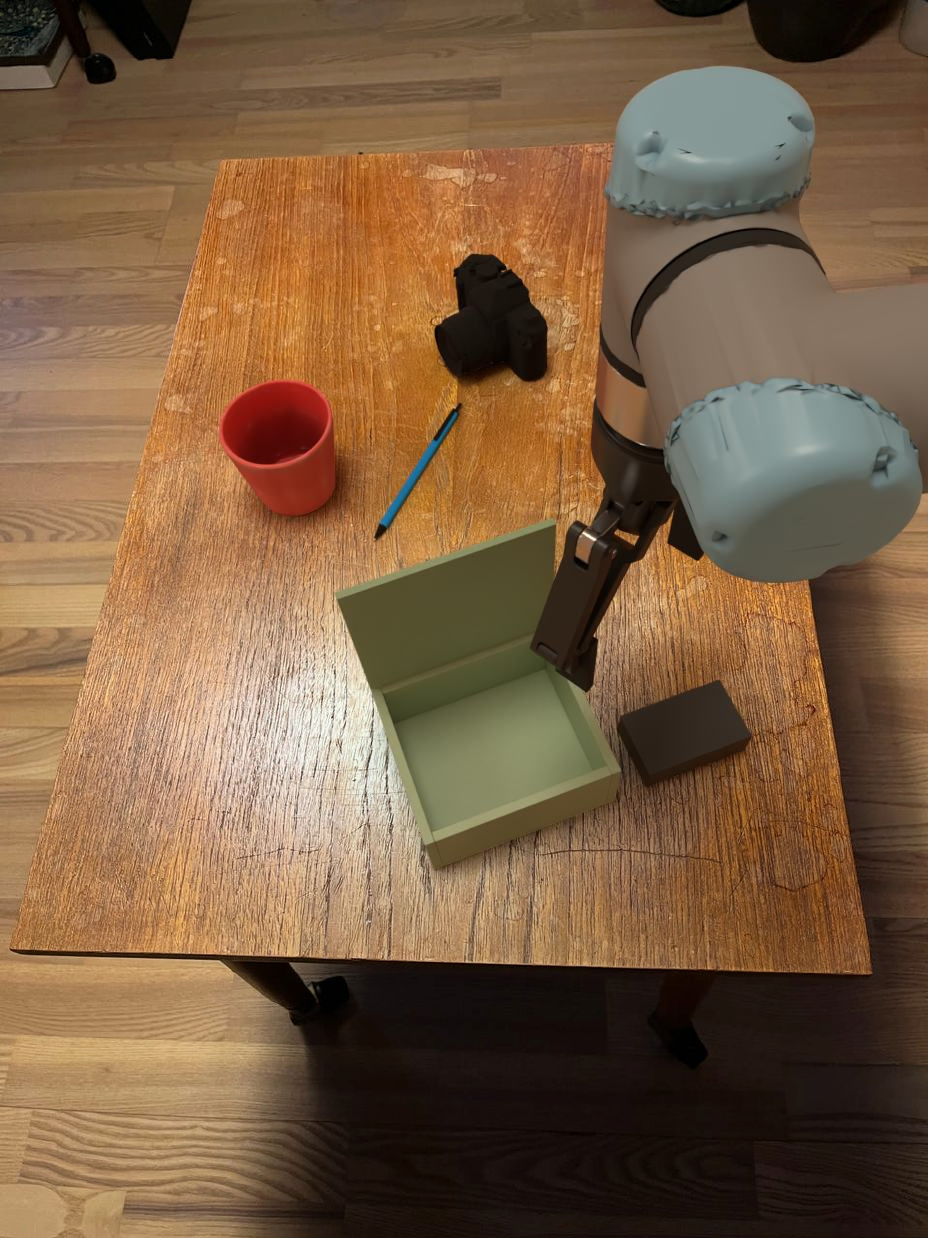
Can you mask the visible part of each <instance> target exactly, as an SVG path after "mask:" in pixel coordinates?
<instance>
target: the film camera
mask: <svg viewBox="0 0 928 1238" xmlns="http://www.w3.org/2000/svg"><path fill="white" fill-rule="evenodd" d="M452 272H453V275H452V278H455V290H456V298H457V309H458V312H456V313H454V314H452V315H449V316H448V317H446V318H444V319H442V321H441V323H439V324H437V325H435V327H434V329H433V331H434V332H433V333H434V334H433V335H434V336H433V337H434V340H435V343H436V344H435V345H436V347H437V351H438V353H439V355H440V357H441V360H442V361H443V362H444V365H445V367H447V369H448V370H449V372H451V374H452V375H453V376H455V377H460V376H463V375H464V374H465V375H468V374H472V373H474V372H476V371H478V370H480V369H481V368H485V367H487V366H489V365H492V364H493V365H496V366H497V365H499V364H502V363H506V364H507V366H509V367H510V368H511V370H512V371H513V372H514V373H515V375H517V376H518V378H519V379H520V380H522V381H525V382H529V381H530V382H535V381H536V380H538V379H540V378H542V377H543V376H545V374H546V371H547V369H548V367H549V366H548V331H549V327H548V322H547V320H546V318H545V317H544V316H543V315H542V313H541V311H540V309H538V308H537V307H536V306H534V304H533V303H532V301H531V298H530V290H529V288H528V287H527V286H526V284H525V283H524V281H523V279H522V278H521V277H520V276H518V275H517V273H515V272H514V270H513V269H512V268H509V269H508V267H507V265H506V264H505V263H504V262H503V261H502V260H501V259H500V258H499V257H497V256H496V255H495V254H492V253H491V254H483V253H482V254H481V253H470V254H469V255H467V256H466V258H465V259H463V260H462V262H461V263H460V264H459V265H458V266H457V267H455V268H454V269H453V271H452Z"/></svg>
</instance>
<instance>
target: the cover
mask: <svg viewBox="0 0 928 1238" xmlns="http://www.w3.org/2000/svg"><path fill="white" fill-rule="evenodd" d="M556 542H557V521H556V520H555V518H554V517H551V518H548V519H545V520H543V521H539V522H537V523H533V524H531V525H528V526H525V527H522V528H518V529H516V530H513V531H510V532H507V533H504V534H501V535H498V536H496V537H492V538H489V539H486V540H484V541H481V542H478V543H475V544H472V545H469V546H466V547H463V548H460V549H458V550H454V551H452V552H449V553H446V554H443V555H440V556H437V557H434V558H431V559H429V560H425V561H423V562H419V563H416V564H413V565H410V566H408V567H405V568H401V569H399V570H396V571H393V572H390V573H388V574H387V573H386V574H385V575H382V576H378V577H377V578H372V579H370V580H367V581H363V582H361V583H359V584H355V585H353V586H349V587H347V588H344V589H341V590H337V591H335V592H334V596H335V599H336V601H337V604H338V607H339V609H340V613H341V615H342V617H343V620H344V622H345V623H344V624H345V626H346V629H347V630H348V634H349V636H350V639H351V642H352V644H353V647H354V649H355V652H356V655H357V657H358V660H359V663H360V666H361V668H362V670H363V673H364V676H365V679H366V681H367V684H368V687H369V690H371V689H374V688H377V687H380V686H383V685H386V684H388V683H391V682H394V681H397V680H400V679H402V678H405V677H408V676H411V675H414V674H416V673H419V672H422V671H425V670H428V669H430V668H433V667H436V666H439V665H442V664H444V663H447V662H450V661H453V660H456V659H458V658H461V657H464V656H467V655H470V654H472V653H475V652H478V651H481V650H484V649H486V648H489V647H492V646H495V645H498V644H500V643H503V642H506V641H509V640H512V639H514V638H517V637H520V636H523V635H526V634H528V633H531V632H534V631H536V628H537V625H538V623H539V620H540V617H541V615H542V612H543V609H544V606H545V604H546V601H547V598H548V595H549V593H550V590H551V587H552V584H553V582H554V579H555V567H556V566H555V564H556V545H557V544H556Z"/></svg>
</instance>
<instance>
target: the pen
mask: <svg viewBox="0 0 928 1238" xmlns="http://www.w3.org/2000/svg"><path fill="white" fill-rule="evenodd" d="M462 406H463V404H462V402H458V404H457V405H456V407H454V408H452V409H451V410H450V411H449V413H448V414H447V416H446V418H445V420H444V421H443V423H441V425H440V427H439V429H438V430H437V431H436V432H435V435H434V436H433V438H432V440H431V442H430V443H429V445H428V446H427V447H426V450H425V451H424V453H423V454H422V456H421V457H420V459H419V460H418V462H417V463H416V465H415V467H414V468H413V470H412V471H411V473H410V474H409V476H408V478H407V479H406V481H405V483H404V484H403V485H402V487H401V489H400V490H399V492H398V493H397V495H396V496H395V498H394V500H393V501H392V503H391V504H390V506H389V507H388V509H387V511H386V512H385V513H384V515H383V517H382V519H381V520H380V521H379V523H378V526H377V528H376V531H375V533H374V536H373V541H376V540H377V539H378V538H379V537H380V536H381V535H382V534H383V533H384V532H386V530H387V529H389V528H388V527H389V526H390V525H391V523H392V521H393V520H394V518H395V516H396V515H397V514H398V512H399V510H400V509H401V507H402V505H403V504H404V502H405V501H406V499H407V498H408V496H409V494H410V493H411V492H412V490H413V488H414V487H415V485H416V483H417V482H418V480H419V478H420V477H421V476H422V474H423V472H424V471H425V469H426V467H427V466H428V465H429V463H430V461H431V460H432V458H433V456H434V455H435V453H436V451H437V450H438V448H440V446H441V444H442V443H443V441H444V439H445V437H446V436H447V434H448V433H449V432H450V430H451V428H452V426H453V425H454V423H455V422H456V420H457V418H458V417H459V415H460V412H459V411H460V410H461V408H462Z"/></svg>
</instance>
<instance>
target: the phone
mask: <svg viewBox="0 0 928 1238" xmlns="http://www.w3.org/2000/svg"><path fill="white" fill-rule="evenodd" d="M616 731H617V734H618V735H619V737H620V740H621V742H622V743H623V745H624V748H625V750H626V752H627V754H628V755H629V758H630V760H631V762H632V763H633V766H634V768H635V770H636V772H637V775H638V776H639V778H640V780H641V782H642V784H643V787H644V788H645V789H647V788H650V787H653V786H655V785H658V784H661V783H663V782H665V781H668V780H670V779H674V778H677V777H679V776H682V775H684V774H687V773H689V772H692V771H695V770H697V769H699V768H702V767H705V766H707V765H710V764H712V763H715V762H718V761H720V760H723V759H725V758H729V757H730V756H734V755H736V754H739V753H741V752H744V751H746V749H747V748H748V745H749V744H750V741H751V739H752V737H753V735H752V733H751V731H750V730H749V728H748V726H747V724H746V722H745V721H744V719H743V717H742V716H741V714H740V712H739V711H738V709H737V707H736V706H735V704H734V702H733V700H732V698H731V697H730V695H729V693H728V691H727V689H726V688H725V686H724V684H723V682H722V681H721V679H720V678H718V679H716V680H713V681H710V682H707V683H705V684H702V685H699V686H696V687H693V688H691V689H688V690H686V691H683V692H680V693H678V694H675V695H673V696H670V697H667V698H664V699H662V700H661V699H660V700H659V701H655V702H653V703H650V704H648V705H645V706H642V707H640V708H638V709H635V710H632V711H629V712H627V713H624V714H621V715H619V717H618V724H617V728H616Z"/></svg>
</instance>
